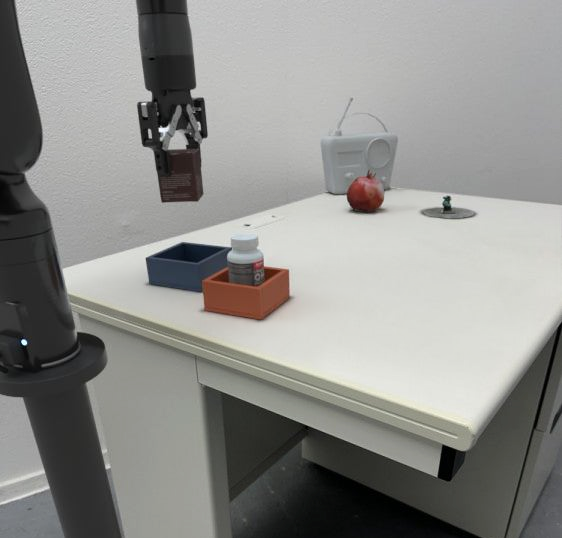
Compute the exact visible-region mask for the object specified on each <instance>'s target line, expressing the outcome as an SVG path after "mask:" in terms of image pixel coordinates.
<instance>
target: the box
mask: <svg viewBox="0 0 562 538" xmlns="http://www.w3.org/2000/svg"><path fill="white" fill-rule="evenodd" d="M167 151H169V153H170V162H171V170H172V176H171V177H159V176H158V174H157V173H156V176H157V180H158V181H157V182H158V187H159V195H160V202H161V203H162V204H165V203H166V204H167V203H187V202H188V203H190V202H191V203H194V202H195V203H197V202H199V201H200V200H201V198H203V196H204V185H203V174H202V162H201V163H200V153H199V149H186V148H176V149H171V148H170V149H168V150H167Z"/></svg>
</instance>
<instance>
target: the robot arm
mask: <svg viewBox="0 0 562 538" xmlns="http://www.w3.org/2000/svg"><path fill="white" fill-rule="evenodd" d="M135 5H136V13H137V26H138V27H137V30H138V45H139V49H140V50H139V51H140V58H141V59H140V60H141V66H142V73H143V81H144V88H145V89H146V91H148V92H150V93H151V101H150V100H149V101H148V100H147V101H138V102H137V103H136V108H137V109H136V110H137V115H138V123H139V125H138V126H139V133H140V140H141V146H142V147H143V148H148V149H150V150H151V151H152V152H153V157H154V162H155V164H154V165H155V171H156V175H157V174H158V175H157V177H158V176H159V177H171V176H172V170H171V162H170V153H169V151H167V150H169V147H170V144H171V143H170V142H171V138H173V137H174V136H175V133H176V132H178V133H180V134H181V135H182V137H183V139H184V141H185V143H186V144H185V149H199V153H200V163H201V164H202V153H201V152H202V151H201V144H202V143H203V140H204V139H207V138H208V136H209V133H208V132H209V131H208V123H207V113H206V103H205V102H206V101H205V98H204V97H192V92H191V91H193V90H195V89H196V88H197V77H196V76H197V75H196V66H195V65H196V64H195V55H194V43H193V35H192V28H191V23H190V18H189V9H188V0H135ZM198 123H199V124H200V126H199V124H198ZM199 127H200V129H199ZM149 130H150V132H151V137H150V135H149ZM43 145H44V129H43V123H42V118H41V113H40V109H39V104H38V100H37V97H36V92H35V89H34V84H33V80H32V77H31V73H30V68H29V64H28V60H27V57H26V52H25V48H24V44H23V40H22V33H21V28H20V23H19V16H18V9H17V3H16V0H0V362H3V365H5V366H8V367H12V368H16V369H19V370H24V371H27V372H31V373H37V372H39V371H41V370H44V369H49V368H53V367H56V366H60V365H62V364H65V363H67V362H69V361H71V360H73V359H74V358H75V357H77V356H78V355H79V353H80V352H81V346H80V342H79V341H78V336H77V332H78V331H77V327H76V323H75V319H74V315H73V311H72V305H71V302H70V298H69V293H68V288H67V284H66V279H65V276H64V275H65V274H64V271H63V266H62V262H61V257H60V254H59V248H58V244H57V239H56V235H55V231H54V227H53V222H52V219H51V218H52V217H51V214H50V210H49V208H48V206H47V204H46V203H45V202H44V201H43V200H42V199H41V198H40V197H39V196H38V195H37V193H35V191H34V190H33V188H32V187H31V185H30V184H29V181H28V179H27V175H26V173H28V172H29V171H30V170H32V168H34V167H35V166H36V164H37V163H38V161H39V159H40V157H41V154H42V150H43ZM0 371H1V372H3V373H7V372H8V371H9V369H7V368H6V367H4V366H1V365H0Z"/></svg>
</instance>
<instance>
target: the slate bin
mask: <svg viewBox="0 0 562 538" xmlns="http://www.w3.org/2000/svg"><path fill="white" fill-rule="evenodd" d="M231 250H233V248H232V247H231V246H223V245H214V244H206V243H205V244H204V243H196V242H188V241H187V242H186V241H181V242H179V243H176V244H174V245H172V246H169V247H167V248H165V249H162V250H160V251H158V252H156V253H153V254H151V255H148V256H146V257H145V258H144V259H145V266H146V271H147V278H148V284H149V285H154V286H159V287H165V288H166V287H167V288H173V289H180V290H185V291H191V292H200V293H203V288H202V281H203V280H205V279H207V278H208V277H210V276H212V275H214V274H216V273H217V272H219V271H221V270H223V269H225V268H226V267H228V263H227V255H228V253H229V252H230V251H231Z"/></svg>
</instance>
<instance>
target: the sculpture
mask: <svg viewBox="0 0 562 538" xmlns="http://www.w3.org/2000/svg"><path fill="white" fill-rule="evenodd" d="M442 199H443V201H442V204H441V205H442V207H432V208H427V209H424V210H422V213H423V214H424V215H425V216H428V217H433V218H442V219H463V218H468V217H472V216H474V215H475V212H474V211H472V210H470V209H466V208H461V207H452V204H451V201H452V197H451V196H450V195H445V196H443V197H442Z"/></svg>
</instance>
